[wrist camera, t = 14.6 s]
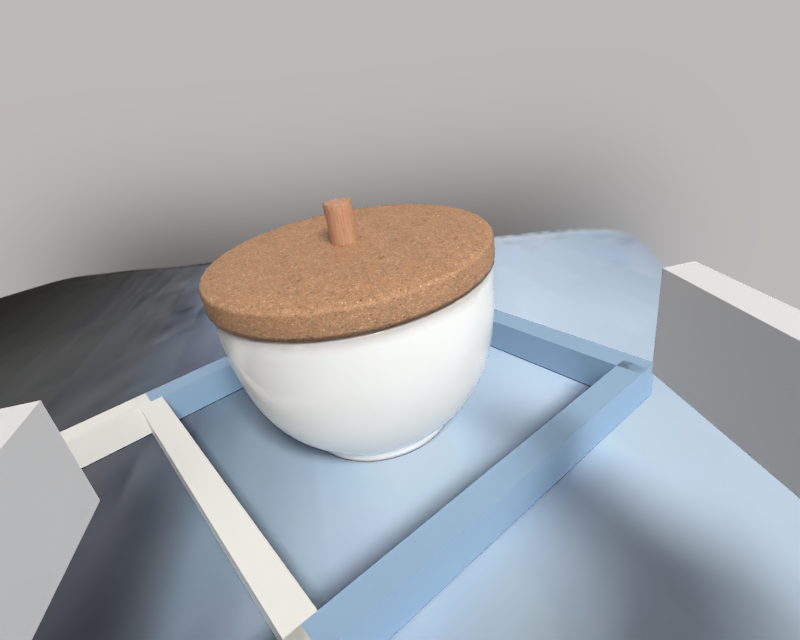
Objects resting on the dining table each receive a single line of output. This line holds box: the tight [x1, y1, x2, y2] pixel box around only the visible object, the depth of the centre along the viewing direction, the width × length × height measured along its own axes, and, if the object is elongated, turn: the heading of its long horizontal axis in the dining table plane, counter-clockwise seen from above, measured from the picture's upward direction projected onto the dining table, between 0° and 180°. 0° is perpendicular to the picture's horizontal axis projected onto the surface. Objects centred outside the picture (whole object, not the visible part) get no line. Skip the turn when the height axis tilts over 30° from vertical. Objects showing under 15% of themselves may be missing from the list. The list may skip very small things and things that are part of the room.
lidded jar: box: [199, 198, 495, 461], centre depth 20 cm, size 11×11×9 cm
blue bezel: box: [145, 309, 653, 640], centre depth 22 cm, size 16×16×2 cm
